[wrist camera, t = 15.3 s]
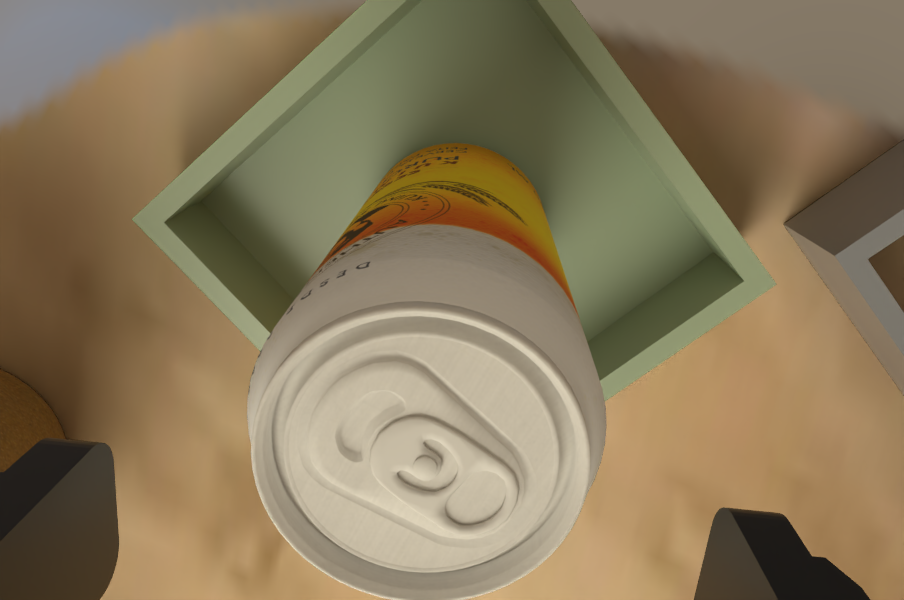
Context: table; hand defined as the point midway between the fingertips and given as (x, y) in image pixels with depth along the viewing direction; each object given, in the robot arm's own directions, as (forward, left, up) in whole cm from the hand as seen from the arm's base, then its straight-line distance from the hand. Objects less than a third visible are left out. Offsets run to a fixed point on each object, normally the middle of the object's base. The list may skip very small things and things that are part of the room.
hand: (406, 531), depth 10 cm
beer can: (0, 0, -17) cm, 17 cm away
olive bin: (0, 0, -18) cm, 18 cm away
